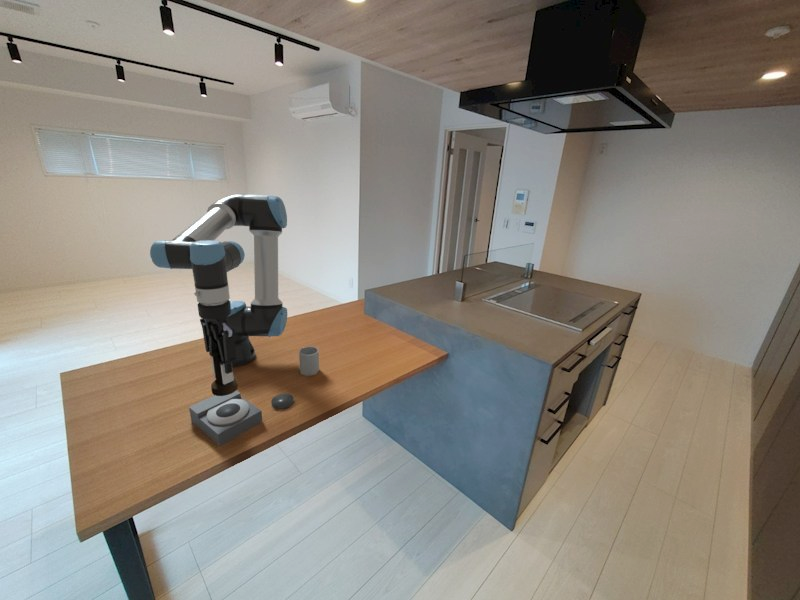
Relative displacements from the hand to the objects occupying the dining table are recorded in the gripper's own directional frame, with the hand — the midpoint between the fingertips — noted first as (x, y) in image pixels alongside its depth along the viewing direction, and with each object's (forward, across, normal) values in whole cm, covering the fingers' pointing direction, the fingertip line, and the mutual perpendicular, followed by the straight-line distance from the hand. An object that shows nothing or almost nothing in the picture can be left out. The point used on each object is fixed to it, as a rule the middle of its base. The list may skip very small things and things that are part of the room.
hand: (223, 378), depth 94 cm
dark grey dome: (+16, +3, +16) cm, 23 cm away
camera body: (+16, -2, 0) cm, 16 cm away
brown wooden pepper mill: (+4, 0, 0) cm, 4 cm away
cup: (+16, -7, +35) cm, 39 cm away
